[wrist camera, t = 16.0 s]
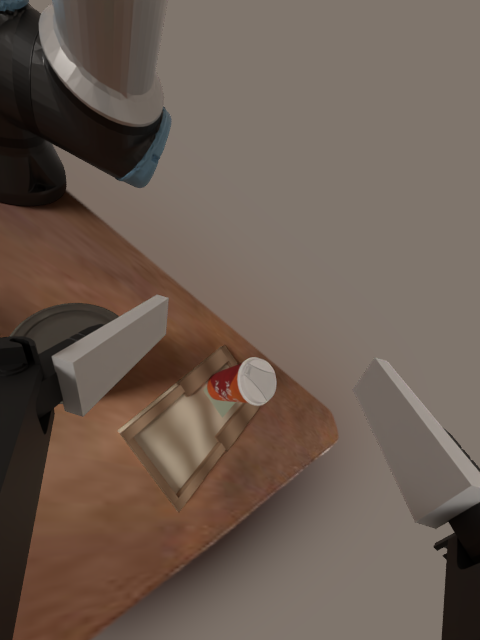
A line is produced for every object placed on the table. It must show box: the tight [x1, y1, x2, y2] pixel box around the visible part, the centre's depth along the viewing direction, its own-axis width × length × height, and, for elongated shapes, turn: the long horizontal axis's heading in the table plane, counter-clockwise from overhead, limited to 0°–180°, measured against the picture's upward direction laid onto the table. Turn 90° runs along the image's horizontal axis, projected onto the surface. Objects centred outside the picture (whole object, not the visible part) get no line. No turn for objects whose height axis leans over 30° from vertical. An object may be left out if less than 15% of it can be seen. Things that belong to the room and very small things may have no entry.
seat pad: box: [203, 387, 236, 418], centre depth 43 cm, size 7×7×1 cm
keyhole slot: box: [118, 345, 261, 512], centre depth 39 cm, size 24×16×2 cm, turn 132°
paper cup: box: [207, 357, 277, 406], centre depth 37 cm, size 8×8×14 cm
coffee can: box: [10, 303, 119, 404], centre depth 26 cm, size 10×10×14 cm
